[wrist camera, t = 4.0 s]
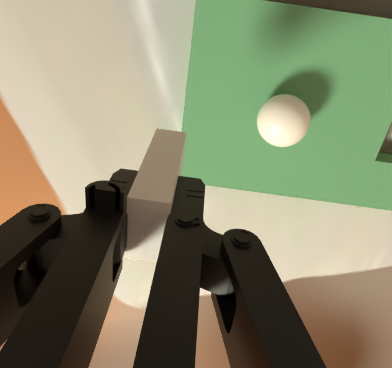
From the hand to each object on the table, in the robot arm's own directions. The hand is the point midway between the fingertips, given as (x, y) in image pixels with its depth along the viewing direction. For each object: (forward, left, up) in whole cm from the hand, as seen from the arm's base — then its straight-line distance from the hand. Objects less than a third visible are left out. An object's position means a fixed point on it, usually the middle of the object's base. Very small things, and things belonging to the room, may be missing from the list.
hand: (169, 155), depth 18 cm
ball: (+7, 0, -9) cm, 11 cm away
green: (+12, 0, -11) cm, 16 cm away
